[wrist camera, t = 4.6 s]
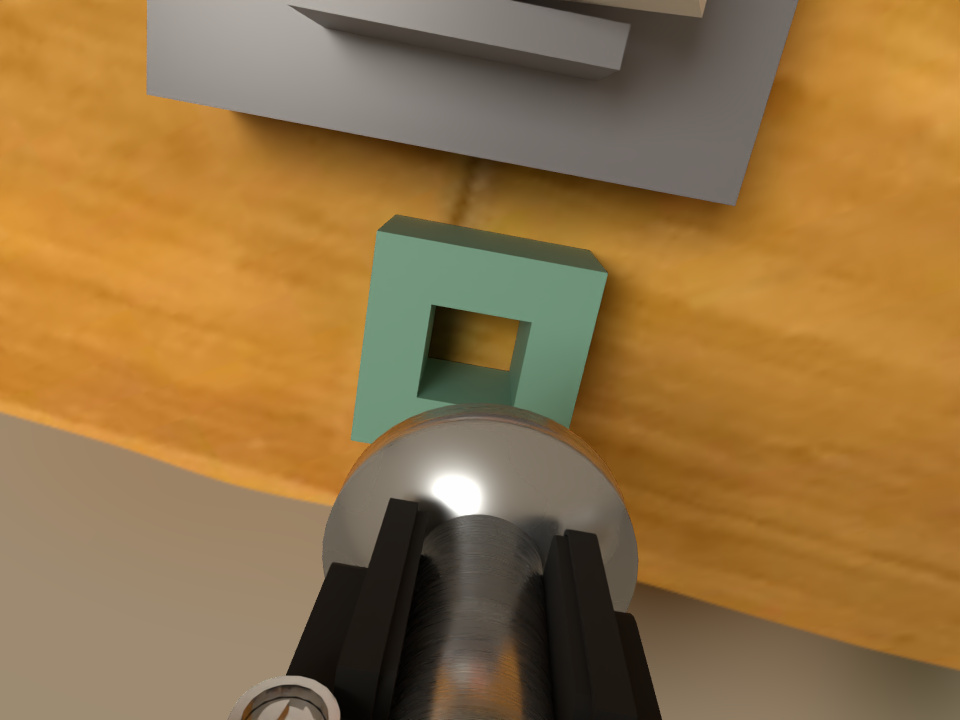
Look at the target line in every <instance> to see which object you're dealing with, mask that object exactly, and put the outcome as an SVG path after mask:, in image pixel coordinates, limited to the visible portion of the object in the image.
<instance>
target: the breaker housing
mask: <svg viewBox="0 0 960 720" xmlns="http://www.w3.org/2000/svg"><path fill="white" fill-rule="evenodd" d="M797 3H798V0H707V1H706V5H705V9H704V13H703V16H702V18H700V17H692V16H684V15H676V14H668V13H660V12H652V11H644V10H636V9H628V8H620V7H612V6H604V5H596V4H588V3H580V2H572V1H564V0H147V95H153V96H158V97H163V98H168V99H174V100H179V101H184V102H190V103H195V104H200V105H205V106H211V107H216V108H221V109H226V110H232V111H237V112H242V113H247V114H253V115H258V116H263V117H269V118H274V119H279V120H284V121H290V122H295V123H300V124H305V125H311V126H316V127H321V128H326V129H332V130H337V131H342V132H348V133H353V134H358V135H363V136H369V137H374V138H379V139H384V140H390V141H395V142H400V143H406V144H411V145H416V146H421V147H427V148H432V149H437V150H442V151H448V152H453V153H458V154H463V155H469V156H474V157H479V158H485V159H490V160H495V161H500V162H506V163H511V164H516V165H521V166H527V167H532V168H537V169H542V170H548V171H553V172H558V173H564V174H569V175H574V176H579V177H585V178H590V179H595V180H600V181H606V182H611V183H616V184H621V185H627V186H632V187H637V188H643V189H648V190H653V191H658V192H664V193H669V194H674V195H679V196H685V197H690V198H695V199H700V200H706V201H711V202H716V203H722V204H727V205H732V206H735V205H736V201H737V198H738V195H739V192H740V188H741V185H742V182H743V179H744V175H745V172H746V169H747V166H748V162H749V159H750V156H751V153H752V149H753V146H754V143H755V140H756V136H757V133H758V130H759V127H760V123H761V120H762V117H763V114H764V110H765V107H766V104H767V101H768V97H769V94H770V91H771V88H772V84H773V81H774V78H775V75H776V71H777V68H778V65H779V62H780V58H781V55H782V52H783V49H784V45H785V42H786V39H787V36H788V32H789V29H790V26H791V23H792V19H793V16H794V13H795V10H796V6H797Z"/></svg>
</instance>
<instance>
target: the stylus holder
mask: <svg viewBox="0 0 960 720" xmlns="http://www.w3.org/2000/svg"><path fill="white" fill-rule="evenodd" d="M607 275H608V273H607V271H606V270H605V269H604V268H603V266H602V265H601V264H600V263H599V261H598V260H597V259H596V258H595V257H594V255H593V254H592V253H591V252H590V250H585V249H580V248H574V247H569V246H563V245H558V244H553V243H547V242H542V241H536V240H531V239H526V238H520V237H515V236H509V235H504V234H499V233H493V232H488V231H482V230H477V229H472V228H466V227H461V226H455V225H450V224H444V223H439V222H434V221H428V220H423V219H417V218H412V217H407V216H401V215H395V216H394V217H392V218H391V219H390V220H389V221H388V222H387V223H385V224H384V225H383V226H382V227H381V228H380V229H378V230H377V235H376V243H375V251H374V259H373V267H372V275H371V283H370V291H369V299H368V307H367V315H366V323H365V331H364V339H363V347H362V355H361V363H360V371H359V379H358V387H357V395H356V403H355V411H354V419H353V427H352V434H351V440H352V441H358V442H364V443H370V444H372V443H373V442H374V441H375V440H376V439H377V438H378V437H380V436H381V435H382V434H384V433H385V432H386V431H388V430H389V429H390V428H392V427H393V426H395V425H397V424H399V423H401V422H402V421H404V420H406V419H408V418H410V417H413V416H415V415H418V414H420V413H423V412H425V411H428V410H432V409H436V408H440V407H444V406H449V405H457V404H465V403H492V404H500V405H508V406H513V407H517V408H521V409H525V410H529V411H532V412H534V413H537V414H540V415H542V416H545V417H548V418H550V419H551V420H553V421H555V422H557V423H559V424H561V425H563V426H565V427H566V428H568V429H569V427H570V423H571V419H572V415H573V411H574V407H575V403H576V399H577V395H578V391H579V387H580V383H581V379H582V375H583V371H584V367H585V363H586V359H587V355H588V351H589V347H590V343H591V339H592V335H593V331H594V327H595V323H596V319H597V315H598V311H599V307H600V303H601V299H602V295H603V291H604V287H605V283H606V279H607ZM436 305H437V306H443V307H449V308H454V309H460V310H465V311H471V312H476V313H482V314H488V315H493V316H499V317H504V318H510V319H515V320H520V323H519V327H518V332H517V337H516V342H515V347H514V351H513V356H512V361H511V366H510V370H509V371H503V370H498V369H492V368H486V367H481V366H475V365H469V364H464V363H458V362H452V361H447V360H441V359H435V358H429V357H428V354H429V348H430V342H431V336H432V330H433V324H434V317H435V311H436Z"/></svg>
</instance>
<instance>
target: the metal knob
mask: <svg viewBox="0 0 960 720" xmlns="http://www.w3.org/2000/svg"><path fill="white" fill-rule="evenodd" d="M390 498H396V499H402V500H407V501H413V502H419V506H418V511H424V512H429V514H428V520H427V525H426V531H425V537H424V542H423V548H422V553H421V559H420V564H419V569H418V574H417V579H416V584H415V589H414V594H413V599H412V604H411V609H410V614H409V619H408V624H407V629H406V634H405V639H404V644H403V649H402V654H401V659H400V664H399V669H398V674H397V679H396V684H395V689H394V694H393V699H392V704H391V709H390V714H389V719H388V720H554V708H553V696H552V684H551V672H550V660H549V648H548V636H547V623H546V611H545V599H544V587H543V572H544V568H545V565H546V561H547V557H548V553H549V549H550V545H551V541H552V538H553V536H554V535H560V536H563V534H564V532H565V530H566V529H572V530H577V531H583V532H588V533H594V534H596V535H597V538H598V542H599V546H600V551H601V555H602V560H603V564H604V568H605V573H606V577H607V582H608V586H609V591H610V595H611V599H612V604H613V608H614V611H619V612H624V613H626V611H627V609H628V607H629V604H630V601H631V599H632V597H633V593H634V589H635V585H636V581H637V572H638V552H637V542H636V538H635V534H634V530H633V526H632V523H631V520H630V517H629V514H628V511H627V507H626V504H625V501H624V498H623V495H622V493H621V491H620V488H619V486H618V483H617V481H616V479H615V478H614V476H613V474H612V473H611V471H610V469H609V468H608V466H607V465H606V463H605V462H604V461H603V460H602V459H601V457H600V456H599V455H598V454H597V452H596V451H595V450H594V449H593V448H592V447H590V446H589V445H588V444H587V443H586V442H585V441H584V440H583V439H582V438H580V437H579V436H578V435H576V434H575V433H573V432H572V431H571V430H569V429H568V428H566V427H565V426H563V425H561V424H559V423H557V422H555V421H553V420H551V419H550V418H548V417H545V416H542V415H540V414H537V413H534V412H532V411H529V410H525V409H521V408H517V407H513V406H508V405H500V404H492V403H465V404H457V405H449V406H444V407H440V408H436V409H432V410H428V411H425V412H423V413H420V414H418V415H415V416H413V417H410V418H408V419H406V420H404V421H402V422H401V423H399V424H397V425H395V426H393V427H392V428H390V429H389V430H388V431H386V432H385V433H384V434H382V435H381V436H380V437H378V438H377V439H376V440H375V441H374V442H373V443H372V444H371V445H370V446H369V447H368V448H367V449H366V450H365V451H364V452H363V453H362V454H361V456H360V457H359V458H358V460H357V461H356V462H355V464H354V465H353V467H352V469H351V470H350V472H349V474H348V476H347V478H346V479H345V482H344V484H343V486H342V488H341V490H340V492H339V495H338V497H337V499H336V501H335V503H334V505H333V508H332V510H331V514H330V516H329V519H328V521H327V524H326V529H325V534H324V539H323V555H322V557H323V558H322V560H323V568H324V576H325V577H326V575H327V572H328V570H329V568H330V566H331V564H332V563H333V562H337V563H343V564H349V565H354V566H360V567H366V568H368V566H369V563H370V559H371V556H372V553H373V550H374V547H375V544H376V540H377V537H378V534H379V531H380V528H381V525H382V521H383V518H384V515H385V512H386V509H387V506H388V502H389V500H390Z"/></svg>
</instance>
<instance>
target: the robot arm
mask: <svg viewBox="0 0 960 720" xmlns="http://www.w3.org/2000/svg"><path fill="white" fill-rule="evenodd" d="M418 506H419V502H413V501H407V500H402V499H396V498H390V500H389V502H388V506H387V509H386V512H385V515H384V518H383V521H382V525H381V528H380V531H379V534H378V537H377V540H376V544H375V547H374V550H373V553H372V556H371V559H370V563H369V566H368V568H366V567H360V566H354V565H349V564H343V563H337V562H333V563H332V564H331V566H330V568H329V570H328V572H327V575H326V577H325V580H324V582H323V585H322V587H321V590H320V592H319V595H318V597H317V600H316V602H315V605H314V607H313V610H312V612H311V615H310V617H309V620H308V622H307V624H306V627H305V630H304V632H303V634H302V637H301V639H300V642H299V644H298V647H297V649H296V652H295V654H294V657H293V659H292V662H291V664H290V666H289V669H288V671H287V674H286V676H280V677H276V678H272V679H267V680H265V681H263V682H261V683H259V684H257V685H255V686H253V687H252V688H250V689H249V690H248V691H247V692H246V693H245V694H244V695H243V696H241V697H240V698H239V699H238V701H237V703H236V704H235V706H234V707H233V709H232V711H231V713H230V715H229V717H228V720H388V719H389V714H390V709H391V704H392V699H393V694H394V689H395V684H396V679H397V674H398V669H399V664H400V659H401V654H402V649H403V644H404V639H405V634H406V629H407V624H408V619H409V614H410V609H411V604H412V599H413V594H414V589H415V584H416V579H417V574H418V569H419V564H420V559H421V553H422V548H423V542H424V537H425V531H426V525H427V520H428V514H429V512H424V511H418ZM543 587H544V599H545V611H546V623H547V636H548V648H549V660H550V672H551V684H552V696H553V708H554V720H662V718H661V714H660V710H659V706H658V703H657V699H656V695H655V692H654V688H653V684H652V680H651V676H650V672H649V669H648V665H647V662H646V657H645V654H644V650H643V646H642V642H641V639H640V635H639V631H638V627H637V624H636V621H635V619H634V616H633V615H632V614H630V613H624V612H619V611H614V608H613V604H612V599H611V595H610V591H609V586H608V582H607V577H606V573H605V568H604V564H603V560H602V555H601V551H600V546H599V542H598V538H597V535H596V534H594V533H588V532H583V531H577V530H572V529H566V530H565V532H564V534H563V536H560V535H554V536H553V538H552V541H551V545H550V549H549V553H548V557H547V561H546V565H545V568H544V572H543Z"/></svg>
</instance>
